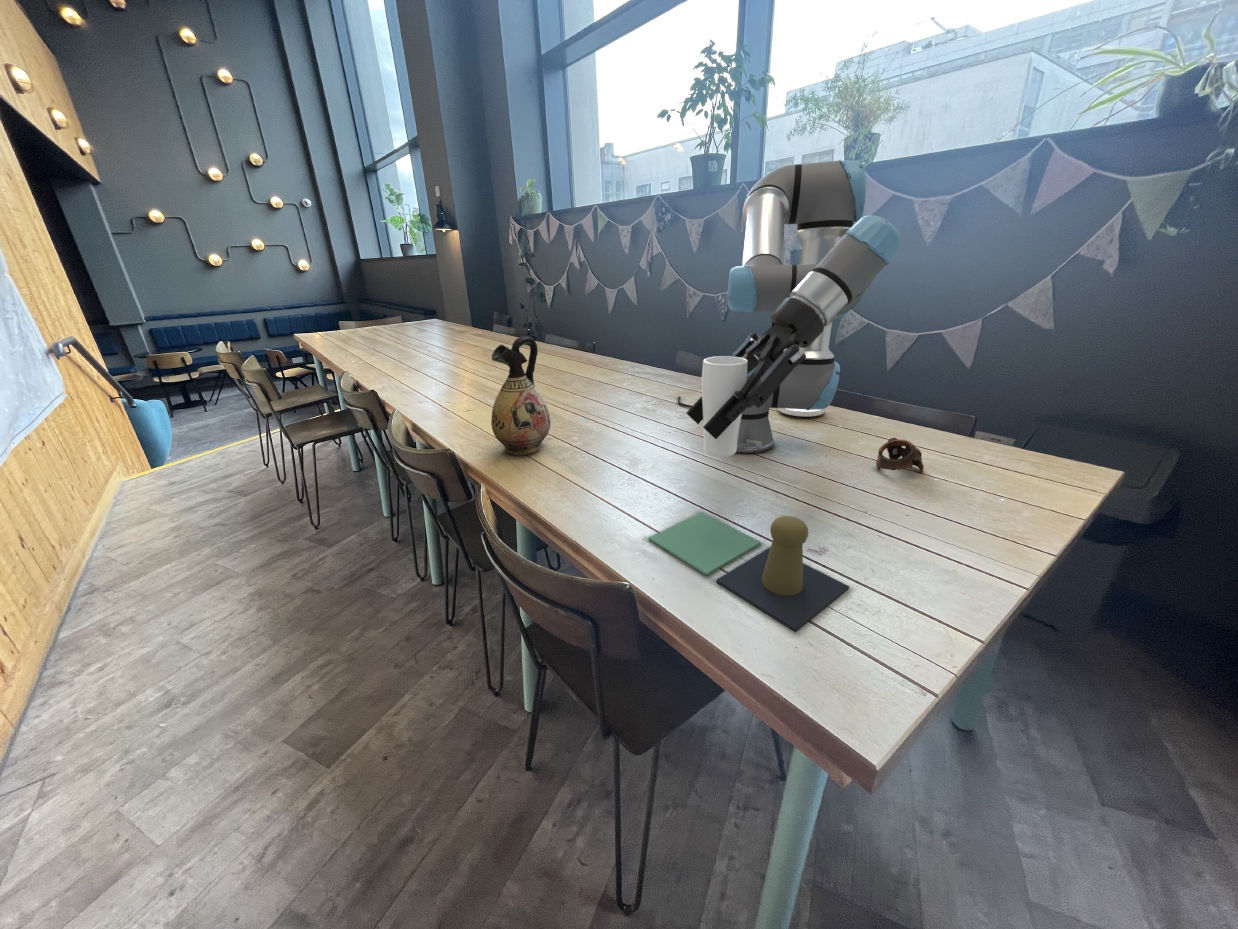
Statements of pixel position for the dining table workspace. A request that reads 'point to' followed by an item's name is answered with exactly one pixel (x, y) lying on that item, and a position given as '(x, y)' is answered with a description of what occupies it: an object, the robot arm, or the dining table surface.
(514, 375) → the ceramic jug
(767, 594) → the slate mat
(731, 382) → the drinking glass
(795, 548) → the olive game pawn
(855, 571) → the dining table surface
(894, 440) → the brown notched ring
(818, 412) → the plastic lid
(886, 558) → the dining table surface
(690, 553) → the sage mat
